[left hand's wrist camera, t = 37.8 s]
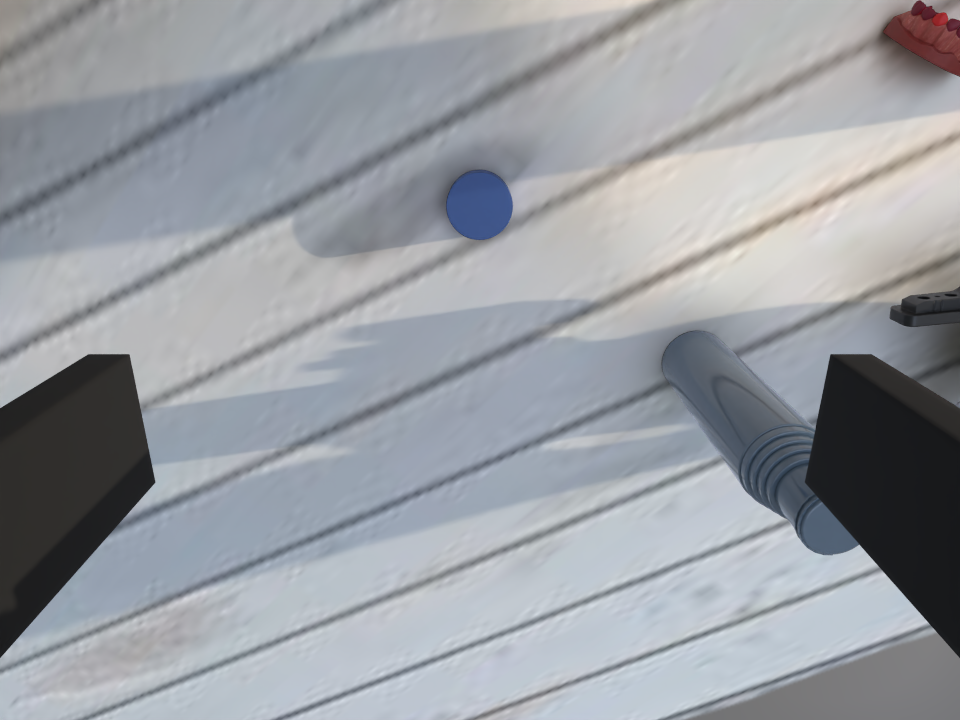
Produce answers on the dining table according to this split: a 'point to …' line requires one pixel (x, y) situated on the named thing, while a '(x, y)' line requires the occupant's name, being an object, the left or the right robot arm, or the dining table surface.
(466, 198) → the cap
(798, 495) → the bottle
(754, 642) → the dining table surface
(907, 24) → the dental model
